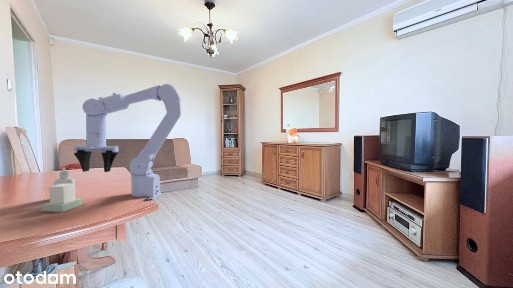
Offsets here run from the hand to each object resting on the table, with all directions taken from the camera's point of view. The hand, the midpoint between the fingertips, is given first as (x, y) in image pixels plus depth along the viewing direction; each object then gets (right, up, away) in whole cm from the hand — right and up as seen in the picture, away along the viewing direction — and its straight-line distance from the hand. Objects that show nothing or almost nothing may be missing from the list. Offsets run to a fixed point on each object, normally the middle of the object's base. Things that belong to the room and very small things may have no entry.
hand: (96, 171), depth 77 cm
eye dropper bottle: (-10, -11, -2) cm, 14 cm away
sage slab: (-2, -10, -12) cm, 15 cm away
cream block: (-1, -8, -12) cm, 14 cm away
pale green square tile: (-1, -12, -12) cm, 17 cm away
